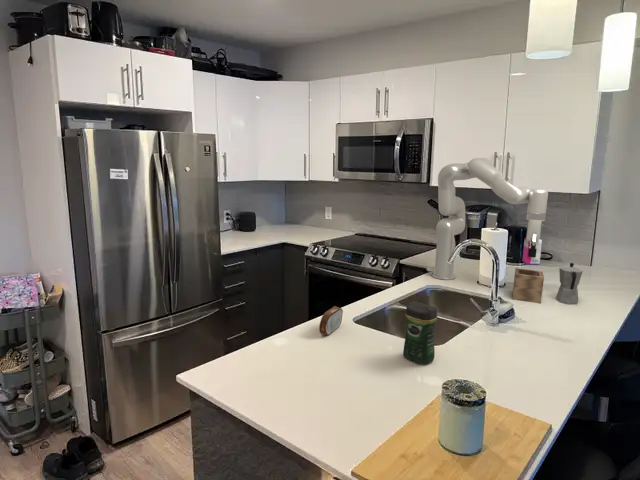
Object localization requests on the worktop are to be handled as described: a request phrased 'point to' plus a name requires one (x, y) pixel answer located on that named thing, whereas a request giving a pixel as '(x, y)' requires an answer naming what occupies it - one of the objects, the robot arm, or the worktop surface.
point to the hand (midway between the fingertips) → (531, 254)
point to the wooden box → (528, 285)
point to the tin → (331, 320)
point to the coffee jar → (420, 333)
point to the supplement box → (531, 260)
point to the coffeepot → (569, 284)
